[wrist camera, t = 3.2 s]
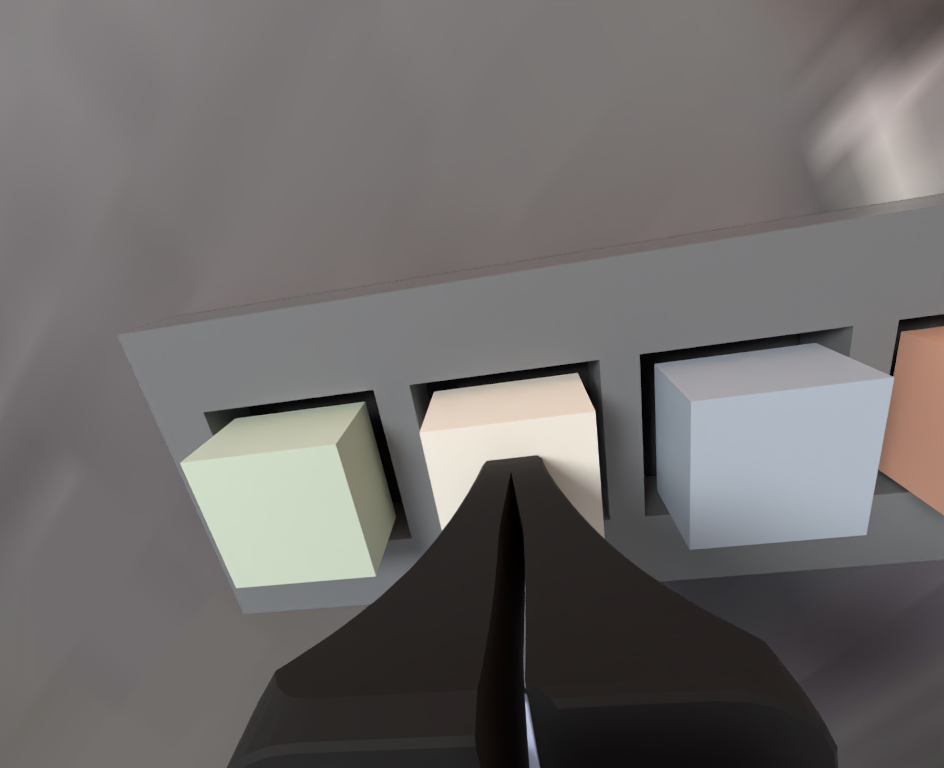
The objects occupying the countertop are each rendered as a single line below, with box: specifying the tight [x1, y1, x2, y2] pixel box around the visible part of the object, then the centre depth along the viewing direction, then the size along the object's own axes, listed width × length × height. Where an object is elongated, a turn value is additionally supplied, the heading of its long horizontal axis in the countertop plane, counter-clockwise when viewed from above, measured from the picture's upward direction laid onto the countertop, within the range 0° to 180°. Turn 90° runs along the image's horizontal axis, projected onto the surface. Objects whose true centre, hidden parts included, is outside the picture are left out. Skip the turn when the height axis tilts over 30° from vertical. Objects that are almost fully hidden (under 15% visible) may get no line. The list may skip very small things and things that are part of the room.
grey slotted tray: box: [117, 194, 944, 614], centre depth 13 cm, size 10×26×2 cm, turn 99°
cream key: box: [419, 373, 605, 539], centre depth 12 cm, size 4×4×2 cm
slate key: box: [654, 343, 894, 550], centre depth 11 cm, size 4×4×2 cm
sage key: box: [180, 402, 396, 588], centre depth 13 cm, size 4×4×2 cm
